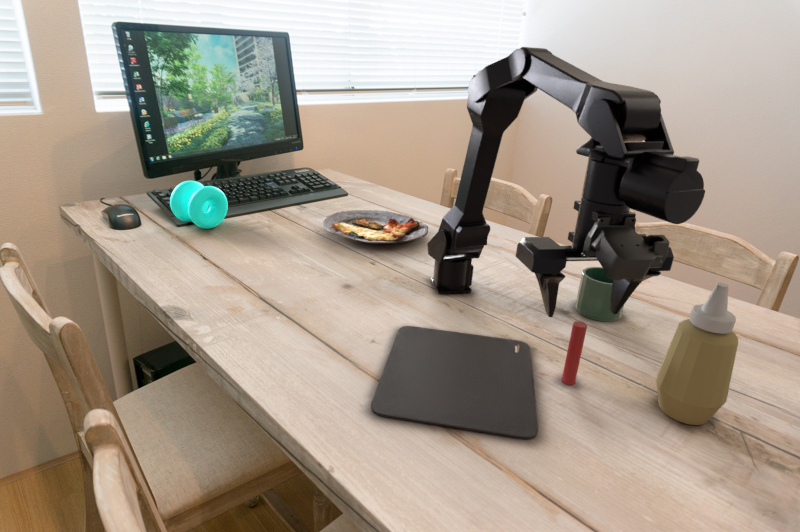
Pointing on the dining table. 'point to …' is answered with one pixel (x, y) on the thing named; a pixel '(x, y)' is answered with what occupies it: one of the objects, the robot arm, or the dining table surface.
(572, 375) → the red wooden peg
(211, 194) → the turquoise spool
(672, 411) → the squeeze bottle
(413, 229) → the food plate
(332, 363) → the dining table surface
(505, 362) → the mouse pad
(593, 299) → the cup
